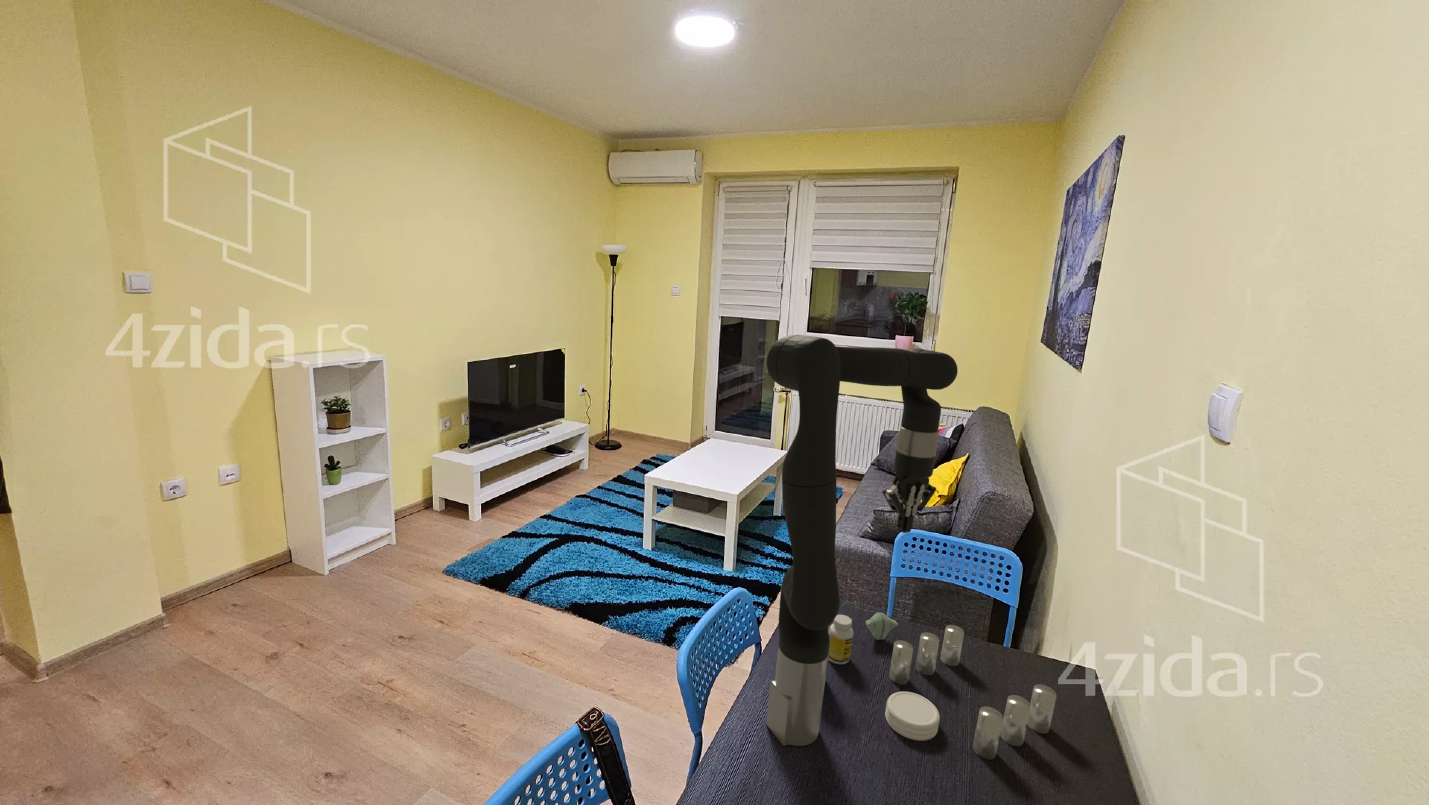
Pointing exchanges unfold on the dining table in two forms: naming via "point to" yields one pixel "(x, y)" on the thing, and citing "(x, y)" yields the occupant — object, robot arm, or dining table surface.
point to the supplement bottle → (841, 639)
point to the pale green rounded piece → (880, 625)
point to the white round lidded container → (912, 716)
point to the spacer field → (989, 718)
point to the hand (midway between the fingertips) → (903, 531)
